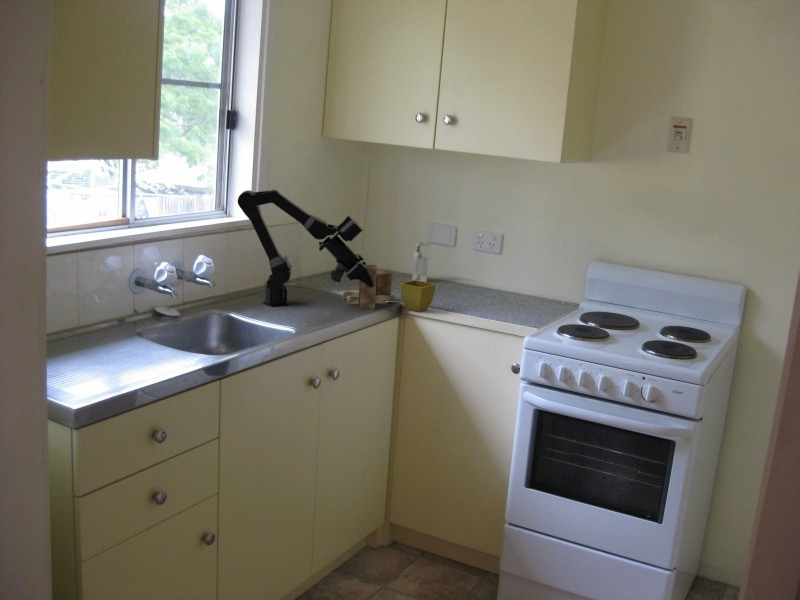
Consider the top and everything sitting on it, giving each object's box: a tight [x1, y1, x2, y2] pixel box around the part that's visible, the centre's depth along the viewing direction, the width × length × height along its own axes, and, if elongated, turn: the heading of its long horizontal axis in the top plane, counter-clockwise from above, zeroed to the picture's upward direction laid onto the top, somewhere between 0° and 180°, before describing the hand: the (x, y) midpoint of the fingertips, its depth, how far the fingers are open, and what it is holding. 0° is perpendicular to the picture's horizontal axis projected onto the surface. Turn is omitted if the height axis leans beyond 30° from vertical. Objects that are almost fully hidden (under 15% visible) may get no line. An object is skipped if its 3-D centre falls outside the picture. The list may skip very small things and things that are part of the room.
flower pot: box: [400, 279, 437, 313], centre depth 298 cm, size 9×9×9 cm
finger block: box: [358, 264, 378, 310], centre depth 297 cm, size 5×5×14 cm
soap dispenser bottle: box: [410, 241, 431, 282], centre depth 342 cm, size 7×7×15 cm
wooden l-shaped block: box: [341, 270, 395, 305], centre depth 307 cm, size 16×9×10 cm, turn 108°
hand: (372, 285), depth 297 cm, fingers closed on finger block, 5 cm apart
